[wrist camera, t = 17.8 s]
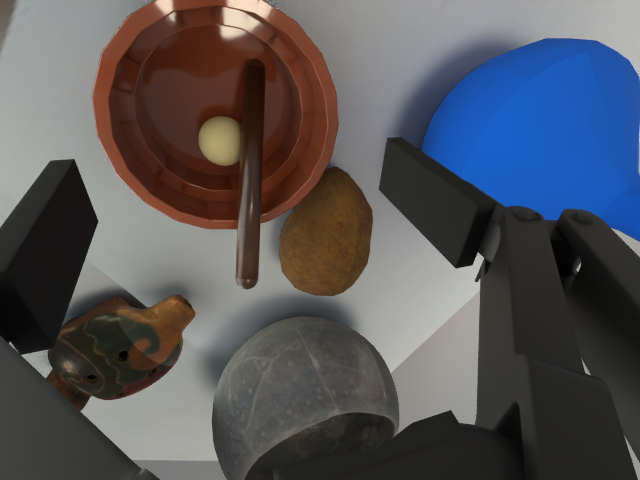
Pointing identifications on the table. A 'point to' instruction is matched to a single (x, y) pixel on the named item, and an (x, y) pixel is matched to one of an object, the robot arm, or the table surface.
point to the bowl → (301, 398)
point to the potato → (327, 236)
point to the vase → (547, 131)
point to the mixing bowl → (211, 106)
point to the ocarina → (117, 349)
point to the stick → (250, 173)
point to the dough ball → (221, 140)
